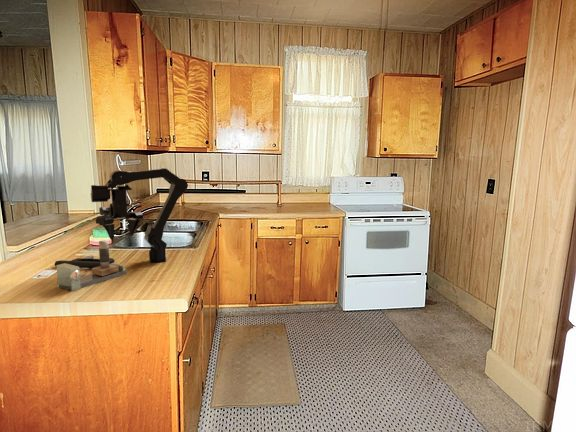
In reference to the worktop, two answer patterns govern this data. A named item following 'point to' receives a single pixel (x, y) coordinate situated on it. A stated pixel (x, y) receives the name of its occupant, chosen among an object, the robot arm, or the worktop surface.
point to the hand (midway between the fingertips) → (121, 237)
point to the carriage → (104, 261)
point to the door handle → (84, 262)
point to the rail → (73, 281)
